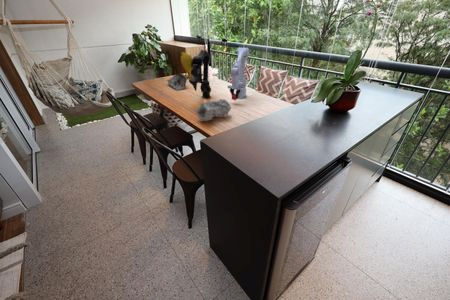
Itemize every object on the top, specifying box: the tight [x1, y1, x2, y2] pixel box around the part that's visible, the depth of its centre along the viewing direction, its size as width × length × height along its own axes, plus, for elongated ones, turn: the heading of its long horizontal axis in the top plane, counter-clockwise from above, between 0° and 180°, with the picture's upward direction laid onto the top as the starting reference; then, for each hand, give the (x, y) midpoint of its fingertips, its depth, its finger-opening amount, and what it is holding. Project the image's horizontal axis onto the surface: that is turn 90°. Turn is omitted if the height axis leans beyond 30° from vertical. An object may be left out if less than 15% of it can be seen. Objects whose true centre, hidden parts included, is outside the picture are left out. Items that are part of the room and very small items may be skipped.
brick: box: [231, 92, 239, 101], centre depth 182 cm, size 5×4×4 cm
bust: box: [195, 98, 232, 123], centre depth 155 cm, size 17×17×28 cm
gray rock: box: [166, 72, 188, 91], centre depth 228 cm, size 19×8×30 cm
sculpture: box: [180, 51, 194, 79], centre depth 254 cm, size 20×27×30 cm
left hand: (199, 91), depth 177 cm, fingers open, 9 cm apart
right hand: (234, 97), depth 182 cm, fingers closed on brick, 4 cm apart
